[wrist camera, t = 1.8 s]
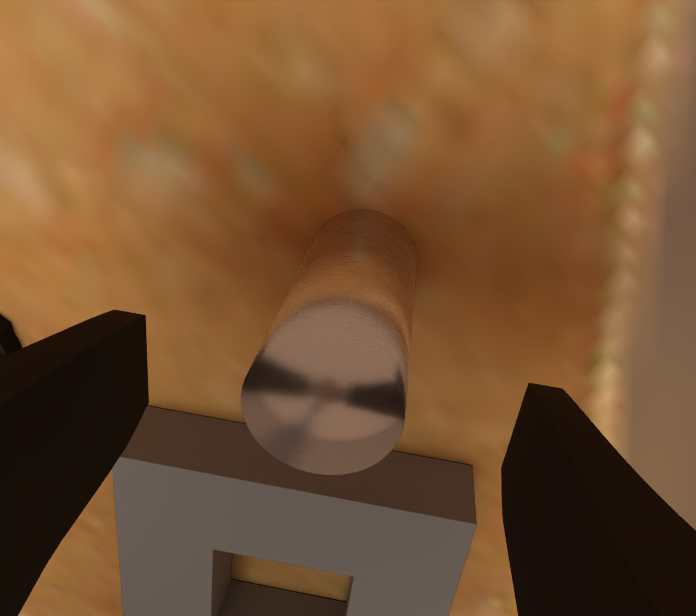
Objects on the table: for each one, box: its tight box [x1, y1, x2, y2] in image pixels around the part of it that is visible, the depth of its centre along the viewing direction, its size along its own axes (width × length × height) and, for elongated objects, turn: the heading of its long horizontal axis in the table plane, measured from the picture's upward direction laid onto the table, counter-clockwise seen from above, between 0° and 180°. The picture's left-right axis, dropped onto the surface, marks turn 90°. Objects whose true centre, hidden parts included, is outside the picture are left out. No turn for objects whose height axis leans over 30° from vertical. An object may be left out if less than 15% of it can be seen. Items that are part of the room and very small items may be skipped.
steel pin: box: [241, 210, 417, 475], centre depth 14 cm, size 3×3×7 cm
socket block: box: [112, 406, 477, 616], centre depth 22 cm, size 11×11×2 cm
